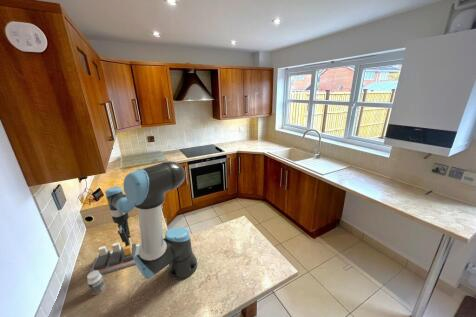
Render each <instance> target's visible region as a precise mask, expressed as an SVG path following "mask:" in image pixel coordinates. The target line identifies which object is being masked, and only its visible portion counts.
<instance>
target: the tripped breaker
mask: <svg viewBox="0 0 476 317" xmlns="http://www.w3.org/2000/svg"><path fill="white" fill-rule="evenodd" d="M131 245H132V244H131ZM131 245H128V246H125V245H124V247H123V248H124V249H123V250H124V253H125V256H126V255H130V254H131V253H132V249H131Z"/></svg>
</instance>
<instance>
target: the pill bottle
mask: <svg viewBox="0 0 476 317" xmlns="http://www.w3.org/2000/svg"><path fill="white" fill-rule="evenodd" d="M86 278H87V286H88V288H89V291H90V293H91V295H95V296H96V295H99V294H101V293H102V292H103V291H104V290H105V289H106V284H105V281H104V278H103V274H102V275H101V274H100V273H99V271H98V270H95V271H92V272H91V273H89V272H88V274H87V276H86Z"/></svg>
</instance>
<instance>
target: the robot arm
mask: <svg viewBox="0 0 476 317" xmlns="http://www.w3.org/2000/svg"><path fill="white" fill-rule="evenodd" d="M185 179H186V171H185V168H184V167H183V165H181V164H180V163H178V162H176V161H171V160H169V161H163V162H159V163H157V164H154V165H150V166H148V167H144V168H140V169H139V168H138V169H136V170H134V171H131V172H129V173H127V175H125V177H124V180H123V190H122V187H121V186H113V187H109V188H107V189H106V190H105V198H106V201H107V204H108V208H109V211H110V214H111V215H110V216H112V217H111V218H112V221H113V223H114V224H117V228H118V229H119V230H117V233H118V235H119V236H120V239H121V242H122V243H124V247H125V246H128V245H131V249H132V242H131V239H130V238H131V237H132V236H131V233H130V226H129V220H128V219H129V218H130V215H129V213H130V212H132V211H133V210H134V209H137V214H138V224H139V232H140V242H141V244H142V245H141V246H140V248H139V254H138V255H136V256H135V257H134V261H135V264H136V265H135V266H136V267H137V269H138V271H139V272H140V273H141V275H142V276H143V277H144V278H145V279H151V278H152V277H153V276H155V275H157V274H158V273H160V272H161V271H162V270H163V269H164V268H166V267H167V266H168V268H167V270H168V275H169V277H171V279H173V280H184V279H186V278H189V277H190V276H192V275H193V274H194V273H195V271H196V270H197V269H198V259H197V256H196V255H195V254H194V252H193V247H192V241H191V234H190V231H189V230H188V228H186V227H184V226H176V227H175V226H174V227H172V228H170V229H168V230H166V232H165V234H164V233H163V230H164V229H163V212H162V211H163V210H162V206H163V204H164V203H165V200H166V193H168V192H170V191H172V190H175V189H177V188H179V187H180V186H181V185H182V184H183V183H184V181H185ZM163 234H164V235H163Z"/></svg>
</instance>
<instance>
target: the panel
mask: <svg viewBox="0 0 476 317" xmlns="http://www.w3.org/2000/svg"><path fill="white" fill-rule="evenodd" d="M131 245H132V253H131V254H130V255H126V256H125V253H124V250H123V249H124V247H123V246H122V247H121V244H120V242H119V241H118V242H115V243H112V246H111V247H112V250H108V249H107V246H106V245H104V246H99V248H98V254H97V256H96V258H95V260H94V262H93V264H92V266H91V268H90V270H89V272H88V274H89V273H91V272H92V271H95V270H98V271H99V273H100V274H101V275H102V276H103V275H105V274H108V273H111V272H115V271H118V270H121V269H122V270H123V269H125V268H129V267H132V266H134V265H135V266H136V264H135V261H134V257H135V256H136V255H138V254H139V248H140V246H141V245H142V243H134V244H133V243H131Z"/></svg>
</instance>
